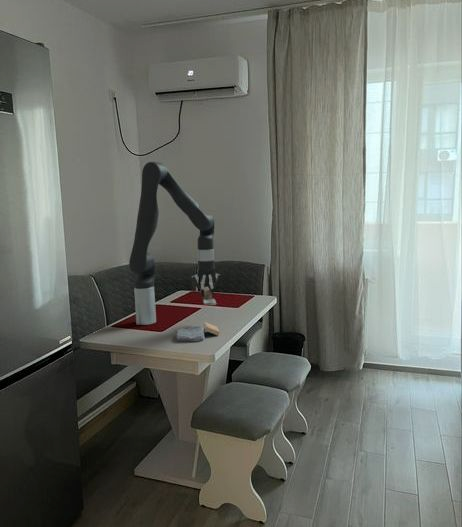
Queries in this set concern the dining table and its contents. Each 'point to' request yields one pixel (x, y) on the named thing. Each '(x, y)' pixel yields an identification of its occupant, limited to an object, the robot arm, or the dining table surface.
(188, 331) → the stone block
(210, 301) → the spatula
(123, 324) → the dining table surface
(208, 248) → the robot arm
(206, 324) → the tile
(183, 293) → the dining table surface
